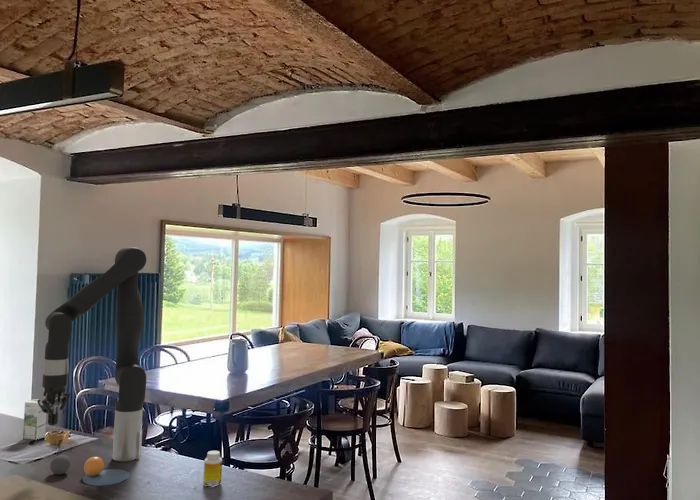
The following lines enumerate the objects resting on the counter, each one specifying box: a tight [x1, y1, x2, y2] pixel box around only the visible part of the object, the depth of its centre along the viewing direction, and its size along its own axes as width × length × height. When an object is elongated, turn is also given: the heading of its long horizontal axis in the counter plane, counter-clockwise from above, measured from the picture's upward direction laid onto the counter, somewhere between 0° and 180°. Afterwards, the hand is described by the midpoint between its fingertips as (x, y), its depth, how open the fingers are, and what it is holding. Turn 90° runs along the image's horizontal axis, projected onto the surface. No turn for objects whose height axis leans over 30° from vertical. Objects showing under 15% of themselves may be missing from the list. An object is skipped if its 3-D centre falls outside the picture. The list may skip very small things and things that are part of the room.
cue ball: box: [49, 454, 72, 475], centre depth 184 cm, size 6×6×6 cm
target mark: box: [82, 468, 131, 487], centre depth 183 cm, size 14×14×1 cm
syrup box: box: [22, 398, 47, 441], centre depth 221 cm, size 6×6×14 cm
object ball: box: [83, 456, 105, 476], centre depth 184 cm, size 6×6×6 cm
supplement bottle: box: [202, 450, 223, 487], centre depth 180 cm, size 6×6×10 cm
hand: (52, 424), depth 187 cm, fingers closed
